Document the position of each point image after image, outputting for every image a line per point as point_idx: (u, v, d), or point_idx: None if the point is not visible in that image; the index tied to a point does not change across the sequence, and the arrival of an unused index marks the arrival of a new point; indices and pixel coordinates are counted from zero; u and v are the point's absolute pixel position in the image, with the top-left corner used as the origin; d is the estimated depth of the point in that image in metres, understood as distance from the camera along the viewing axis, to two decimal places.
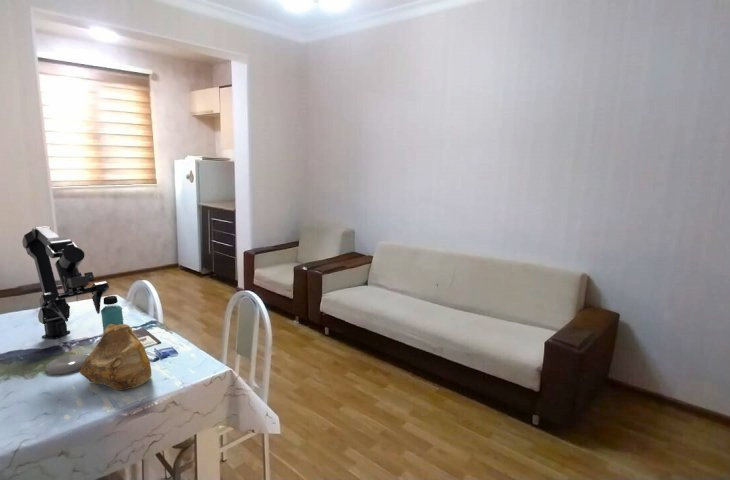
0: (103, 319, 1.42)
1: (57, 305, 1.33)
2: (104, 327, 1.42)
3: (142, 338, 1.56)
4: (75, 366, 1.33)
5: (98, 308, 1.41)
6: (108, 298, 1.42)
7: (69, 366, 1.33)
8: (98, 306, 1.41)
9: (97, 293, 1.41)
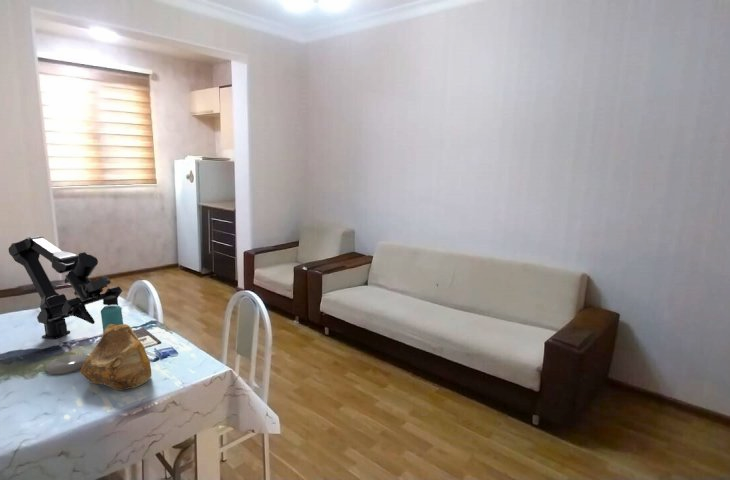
0: (102, 319, 1.41)
1: (82, 309, 1.40)
2: (104, 327, 1.42)
3: (142, 338, 1.56)
4: (75, 366, 1.33)
5: None
6: (107, 298, 1.41)
7: (69, 366, 1.33)
8: None
9: None
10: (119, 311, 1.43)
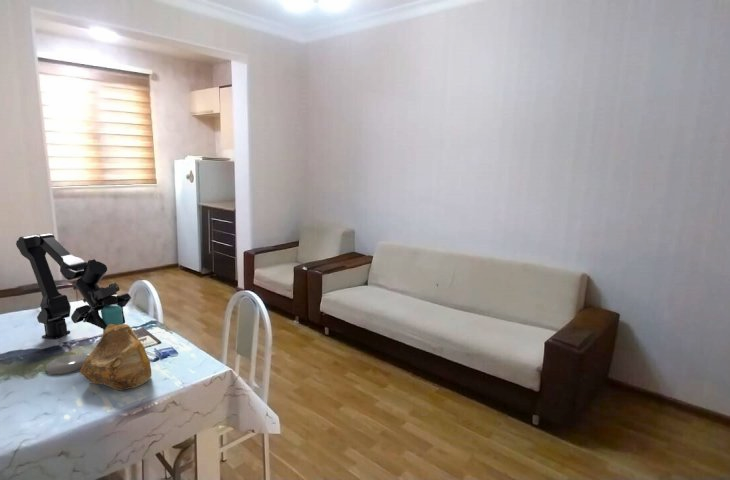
0: (103, 319, 1.42)
1: (95, 315, 1.40)
2: None
3: (142, 338, 1.56)
4: (75, 366, 1.33)
5: (123, 318, 1.47)
6: (108, 298, 1.42)
7: (69, 366, 1.33)
8: None
9: (119, 304, 1.48)
10: (119, 311, 1.43)
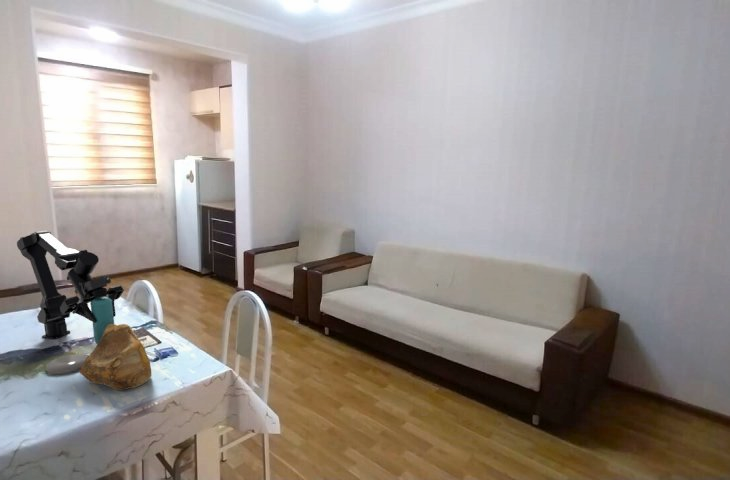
0: (92, 311, 1.38)
1: (84, 307, 1.37)
2: None
3: (142, 338, 1.56)
4: (75, 366, 1.33)
5: (113, 311, 1.44)
6: (97, 290, 1.38)
7: (69, 366, 1.33)
8: (113, 309, 1.44)
9: (110, 297, 1.44)
10: (109, 304, 1.40)
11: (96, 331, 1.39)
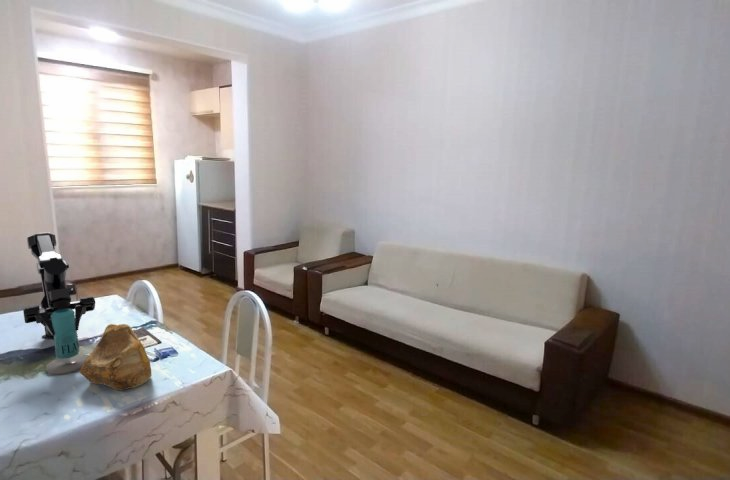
0: None
1: (43, 318, 1.31)
2: None
3: (142, 338, 1.56)
4: (75, 366, 1.33)
5: (77, 324, 1.35)
6: (57, 301, 1.31)
7: (69, 366, 1.33)
8: (77, 322, 1.35)
9: (76, 308, 1.36)
10: (67, 317, 1.31)
11: (55, 344, 1.32)
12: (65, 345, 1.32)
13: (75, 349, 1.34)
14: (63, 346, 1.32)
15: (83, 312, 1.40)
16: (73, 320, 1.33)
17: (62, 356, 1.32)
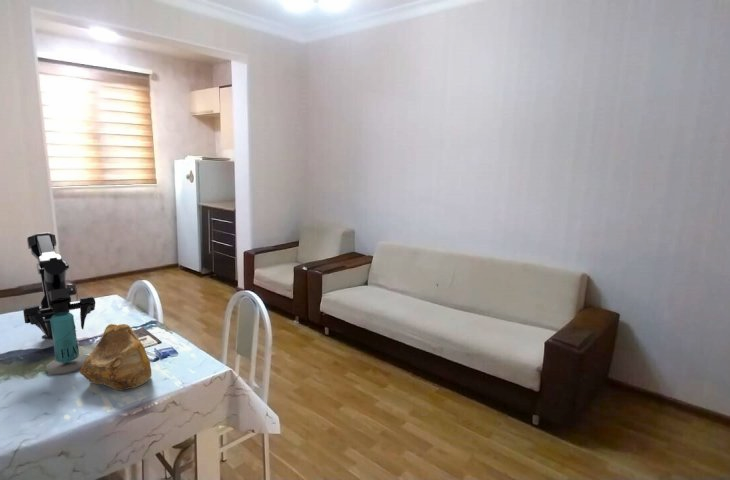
0: (51, 327, 1.31)
1: (38, 319, 1.30)
2: (52, 335, 1.32)
3: (142, 338, 1.56)
4: (75, 366, 1.33)
5: (82, 323, 1.36)
6: (55, 305, 1.31)
7: (69, 366, 1.33)
8: (82, 321, 1.36)
9: (81, 307, 1.37)
10: (66, 321, 1.31)
11: (54, 348, 1.32)
12: (64, 349, 1.32)
13: (75, 353, 1.34)
14: (62, 350, 1.32)
15: (88, 311, 1.41)
16: (72, 324, 1.33)
17: (62, 360, 1.32)
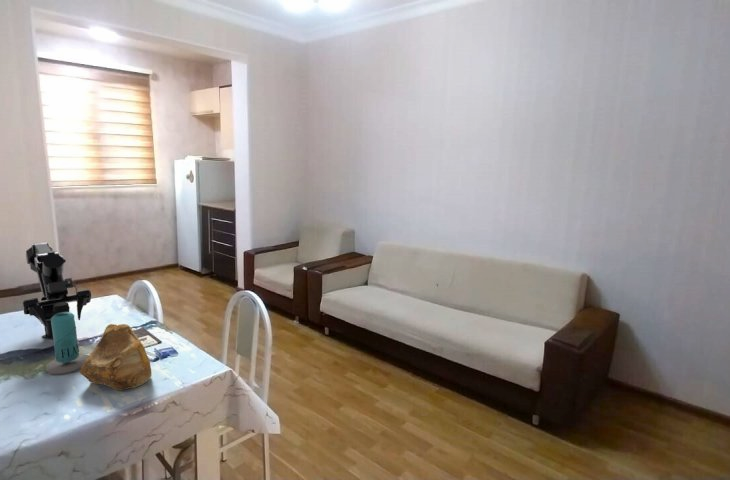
0: None
1: (36, 311, 1.37)
2: (53, 335, 1.32)
3: (142, 338, 1.56)
4: (75, 366, 1.33)
5: (79, 314, 1.43)
6: (56, 305, 1.31)
7: (69, 366, 1.33)
8: (79, 312, 1.44)
9: (78, 300, 1.44)
10: (67, 320, 1.31)
11: (54, 348, 1.32)
12: (65, 349, 1.32)
13: (75, 353, 1.34)
14: (62, 350, 1.32)
15: (84, 303, 1.48)
16: (73, 324, 1.34)
17: (62, 360, 1.32)
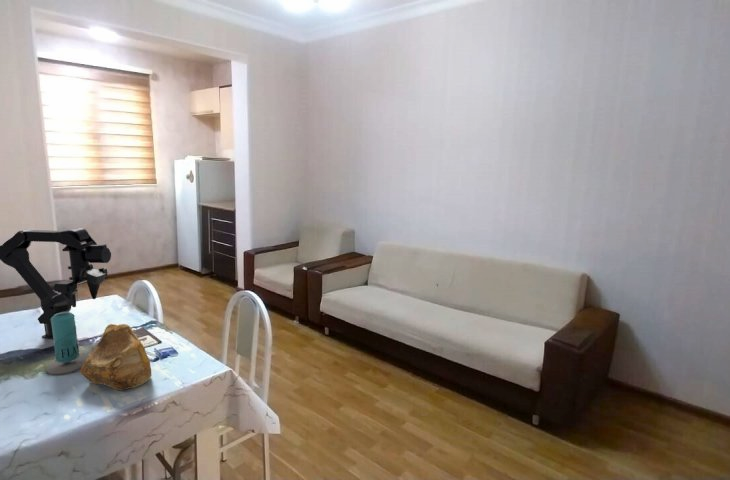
0: None
1: (72, 294, 1.50)
2: (53, 335, 1.32)
3: (142, 338, 1.56)
4: (75, 366, 1.33)
5: (95, 295, 1.61)
6: (57, 305, 1.31)
7: (69, 366, 1.33)
8: (96, 293, 1.61)
9: (99, 283, 1.60)
10: (67, 320, 1.31)
11: (55, 348, 1.32)
12: (65, 349, 1.32)
13: (75, 353, 1.34)
14: (62, 350, 1.32)
15: None
16: (73, 324, 1.34)
17: (62, 360, 1.32)
